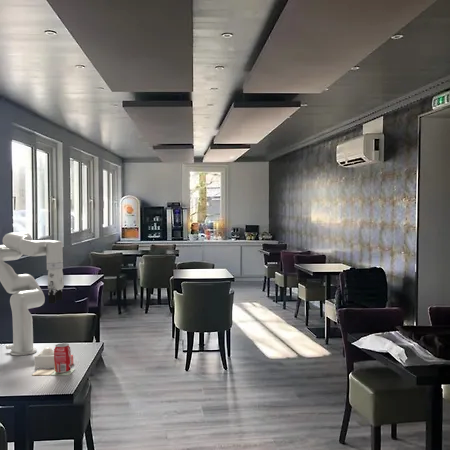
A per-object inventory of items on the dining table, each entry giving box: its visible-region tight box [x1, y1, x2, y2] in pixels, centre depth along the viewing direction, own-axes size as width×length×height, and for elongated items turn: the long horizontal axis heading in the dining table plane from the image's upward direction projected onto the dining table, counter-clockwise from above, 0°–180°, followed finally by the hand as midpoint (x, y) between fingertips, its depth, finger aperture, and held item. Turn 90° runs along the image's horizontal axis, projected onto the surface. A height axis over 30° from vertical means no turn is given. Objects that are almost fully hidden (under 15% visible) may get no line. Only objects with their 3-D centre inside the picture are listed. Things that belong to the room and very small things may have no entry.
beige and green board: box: [31, 368, 76, 377], centre depth 238 cm, size 16×8×1 cm, turn 89°
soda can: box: [53, 342, 72, 373], centre depth 238 cm, size 7×7×12 cm
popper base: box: [34, 350, 55, 369], centre depth 250 cm, size 9×9×6 cm
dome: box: [39, 346, 54, 356], centre depth 250 cm, size 6×6×5 cm
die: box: [71, 354, 74, 366], centre depth 251 cm, size 4×4×4 cm
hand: (55, 301), depth 259 cm, fingers open, 9 cm apart
